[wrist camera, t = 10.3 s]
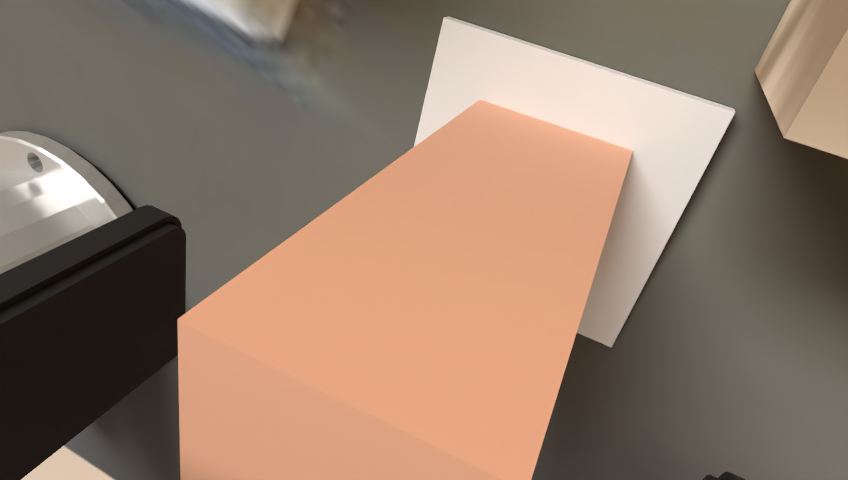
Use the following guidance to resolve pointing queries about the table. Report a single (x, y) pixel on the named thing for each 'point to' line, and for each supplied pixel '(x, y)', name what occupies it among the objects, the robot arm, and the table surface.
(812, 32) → the beige square frame
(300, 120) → the table surface
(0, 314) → the robot arm
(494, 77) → the mat
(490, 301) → the plug
